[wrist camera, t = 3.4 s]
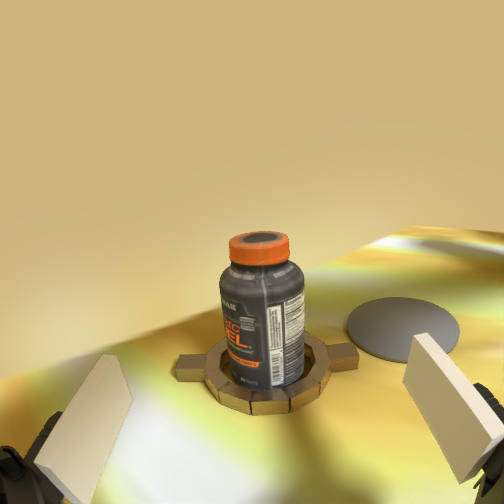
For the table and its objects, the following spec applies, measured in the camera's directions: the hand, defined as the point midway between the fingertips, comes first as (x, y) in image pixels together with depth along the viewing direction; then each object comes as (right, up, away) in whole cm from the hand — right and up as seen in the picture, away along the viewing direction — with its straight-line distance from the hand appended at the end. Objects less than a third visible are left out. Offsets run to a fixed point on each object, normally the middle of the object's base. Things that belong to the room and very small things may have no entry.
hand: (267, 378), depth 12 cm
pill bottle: (+1, -5, +12) cm, 13 cm away
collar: (+1, -4, +12) cm, 12 cm away
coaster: (+15, -2, +15) cm, 21 cm away
